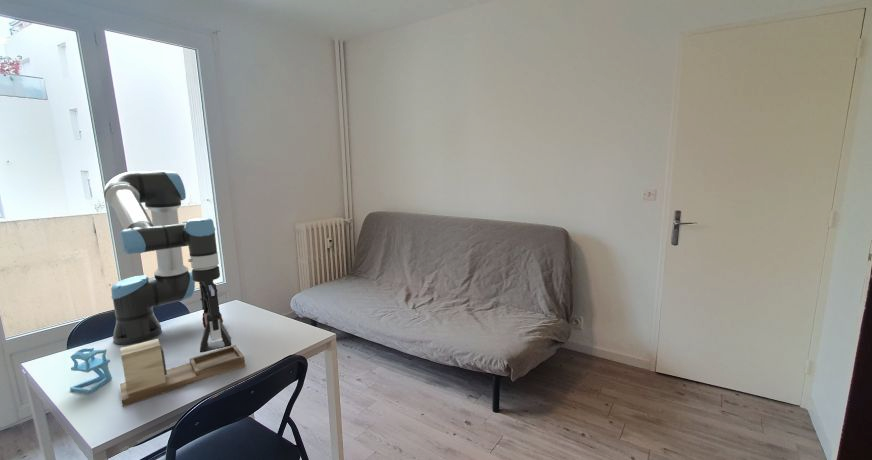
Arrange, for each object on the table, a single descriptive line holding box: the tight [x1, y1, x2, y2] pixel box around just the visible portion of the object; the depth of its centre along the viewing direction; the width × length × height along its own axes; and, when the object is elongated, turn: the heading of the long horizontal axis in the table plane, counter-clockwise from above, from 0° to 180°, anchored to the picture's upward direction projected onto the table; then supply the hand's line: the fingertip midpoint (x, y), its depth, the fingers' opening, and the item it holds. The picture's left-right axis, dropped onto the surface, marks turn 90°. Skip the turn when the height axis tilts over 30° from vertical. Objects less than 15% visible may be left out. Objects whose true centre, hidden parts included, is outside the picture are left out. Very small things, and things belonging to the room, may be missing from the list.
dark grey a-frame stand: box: [199, 311, 233, 354], centre depth 125 cm, size 9×6×12 cm, turn 119°
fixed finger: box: [119, 338, 167, 394], centre depth 114 cm, size 6×10×12 cm, turn 131°
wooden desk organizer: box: [119, 344, 246, 408], centre depth 121 cm, size 11×32×4 cm, turn 131°
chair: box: [69, 347, 113, 394], centre depth 117 cm, size 8×8×12 cm
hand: (214, 335), depth 125 cm, fingers closed on dark grey a-frame stand, 6 cm apart
